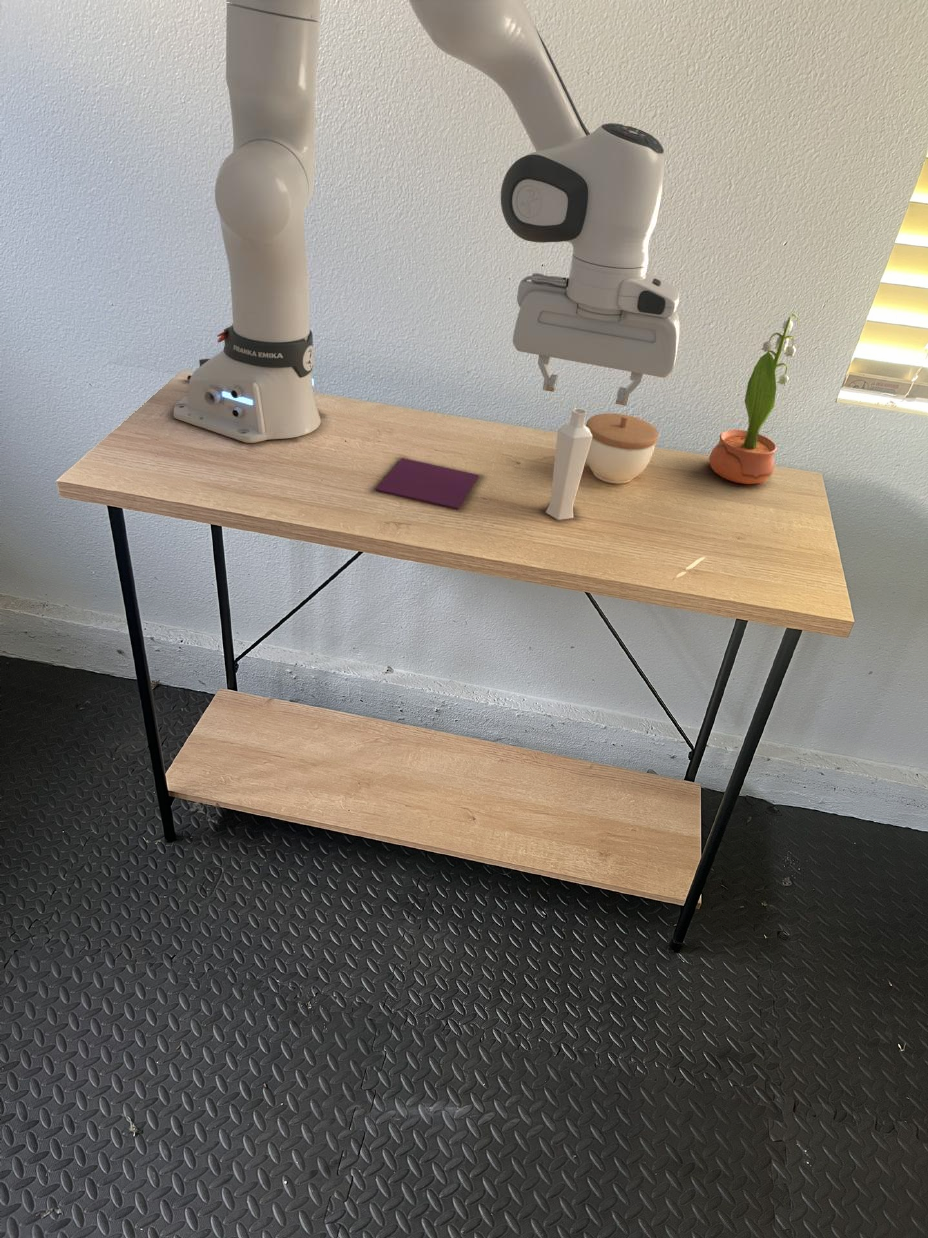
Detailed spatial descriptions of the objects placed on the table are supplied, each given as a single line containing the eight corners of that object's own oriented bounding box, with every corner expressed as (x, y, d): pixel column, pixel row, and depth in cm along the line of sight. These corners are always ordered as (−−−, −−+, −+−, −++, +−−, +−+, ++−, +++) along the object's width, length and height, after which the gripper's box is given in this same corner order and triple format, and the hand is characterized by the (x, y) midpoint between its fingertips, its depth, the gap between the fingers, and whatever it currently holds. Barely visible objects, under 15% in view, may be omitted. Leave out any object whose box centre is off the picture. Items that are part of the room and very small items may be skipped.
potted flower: (713, 450, 142) (758, 297, 127) (773, 466, 139) (827, 311, 125) (701, 478, 133) (749, 315, 118) (766, 495, 130) (823, 331, 115)
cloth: (375, 490, 118) (375, 488, 118) (402, 459, 127) (402, 457, 127) (457, 509, 116) (458, 507, 116) (478, 476, 125) (479, 474, 125)
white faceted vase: (568, 524, 116) (588, 421, 107) (539, 514, 118) (558, 411, 109) (582, 512, 119) (603, 411, 111) (554, 502, 121) (573, 401, 112)
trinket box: (646, 496, 125) (661, 437, 120) (574, 483, 127) (586, 424, 121) (647, 466, 134) (661, 409, 129) (580, 454, 135) (591, 397, 130)
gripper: (514, 276, 100) (500, 389, 108) (689, 305, 96) (661, 420, 104) (526, 264, 105) (512, 373, 113) (692, 292, 101) (665, 402, 109)
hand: (585, 396), depth 109 cm, fingers open, 8 cm apart
